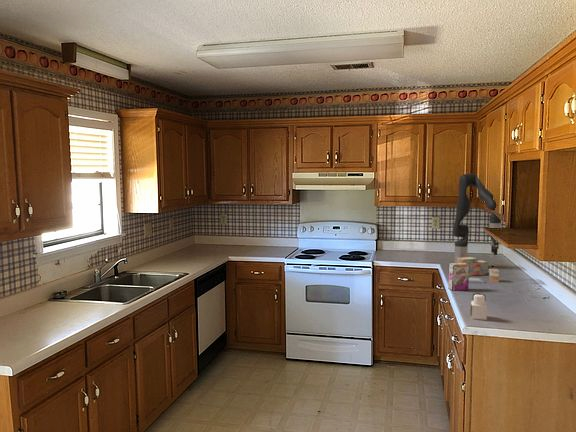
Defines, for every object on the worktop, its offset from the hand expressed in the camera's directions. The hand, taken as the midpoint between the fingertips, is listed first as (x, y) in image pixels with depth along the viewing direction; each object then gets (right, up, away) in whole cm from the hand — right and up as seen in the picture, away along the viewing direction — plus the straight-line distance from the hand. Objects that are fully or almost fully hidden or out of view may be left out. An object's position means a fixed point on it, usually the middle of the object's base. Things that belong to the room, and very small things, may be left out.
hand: (494, 253), depth 318 cm
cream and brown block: (0, -19, +2) cm, 19 cm away
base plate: (-13, -18, +3) cm, 22 cm away
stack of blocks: (-6, -17, +23) cm, 29 cm away
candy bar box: (-31, -21, -21) cm, 43 cm away
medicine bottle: (-42, -26, -78) cm, 92 cm away
